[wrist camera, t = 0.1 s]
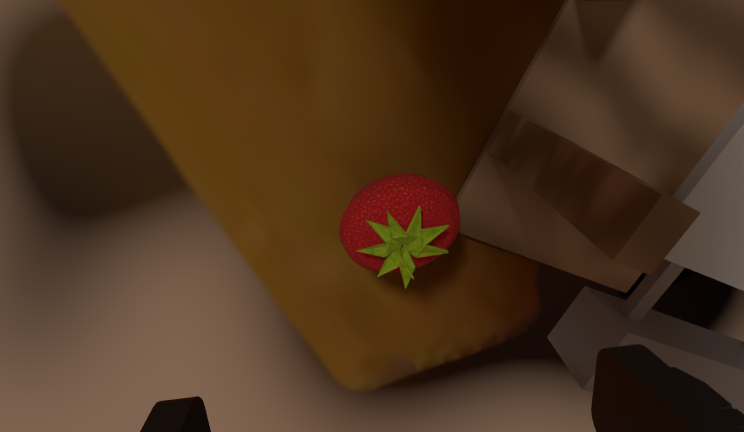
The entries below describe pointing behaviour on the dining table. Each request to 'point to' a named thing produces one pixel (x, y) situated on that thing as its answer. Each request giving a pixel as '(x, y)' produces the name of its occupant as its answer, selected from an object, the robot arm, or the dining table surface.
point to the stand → (608, 135)
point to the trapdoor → (693, 251)
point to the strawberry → (400, 224)
